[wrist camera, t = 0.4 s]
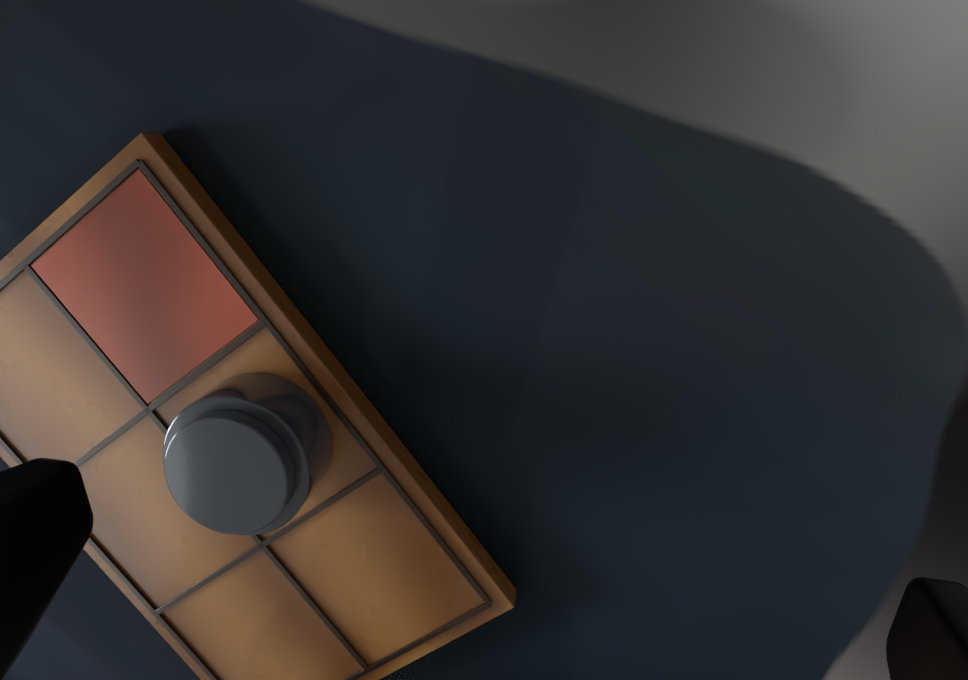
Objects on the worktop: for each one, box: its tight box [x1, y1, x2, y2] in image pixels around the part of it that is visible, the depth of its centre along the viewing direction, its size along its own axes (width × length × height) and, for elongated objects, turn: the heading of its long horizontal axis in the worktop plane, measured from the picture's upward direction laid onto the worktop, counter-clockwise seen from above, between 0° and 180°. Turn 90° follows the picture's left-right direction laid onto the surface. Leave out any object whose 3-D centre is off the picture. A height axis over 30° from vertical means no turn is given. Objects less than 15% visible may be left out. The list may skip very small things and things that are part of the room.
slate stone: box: [163, 373, 332, 535], centre depth 22 cm, size 5×5×3 cm
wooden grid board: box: [0, 132, 517, 680], centre depth 25 cm, size 12×19×1 cm, turn 36°
